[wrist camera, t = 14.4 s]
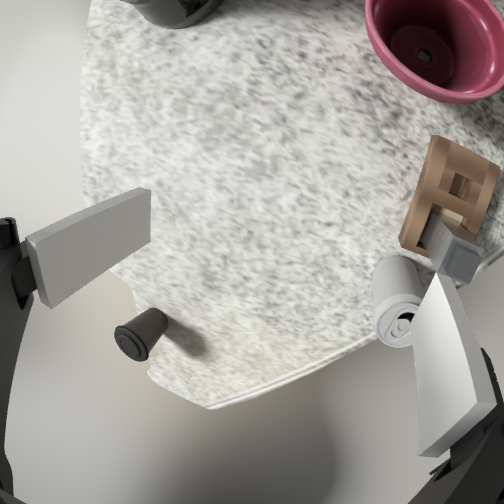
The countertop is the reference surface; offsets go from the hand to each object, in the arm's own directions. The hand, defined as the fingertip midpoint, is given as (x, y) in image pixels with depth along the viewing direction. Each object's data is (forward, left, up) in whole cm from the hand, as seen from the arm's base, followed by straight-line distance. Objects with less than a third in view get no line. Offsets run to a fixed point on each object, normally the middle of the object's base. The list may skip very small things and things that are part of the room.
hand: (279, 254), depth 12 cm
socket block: (-2, +15, -26) cm, 30 cm away
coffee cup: (+35, -24, -26) cm, 50 cm away
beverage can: (+10, +12, -26) cm, 31 cm away
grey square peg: (+2, +15, -25) cm, 29 cm away
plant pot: (-19, +7, -26) cm, 33 cm away
